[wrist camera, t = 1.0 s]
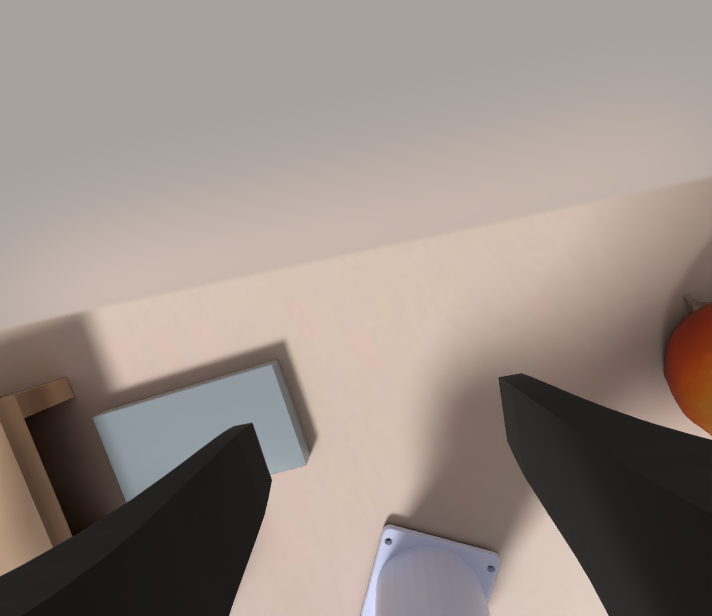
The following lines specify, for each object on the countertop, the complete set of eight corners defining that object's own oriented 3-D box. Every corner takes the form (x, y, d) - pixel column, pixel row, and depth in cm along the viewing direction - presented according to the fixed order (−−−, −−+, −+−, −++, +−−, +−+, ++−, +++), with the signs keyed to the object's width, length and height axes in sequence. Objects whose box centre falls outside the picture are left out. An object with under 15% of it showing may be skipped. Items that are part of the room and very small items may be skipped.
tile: (279, 357, 24) (271, 364, 22) (311, 450, 24) (306, 465, 23) (112, 406, 25) (92, 417, 23) (147, 494, 26) (129, 511, 24)
